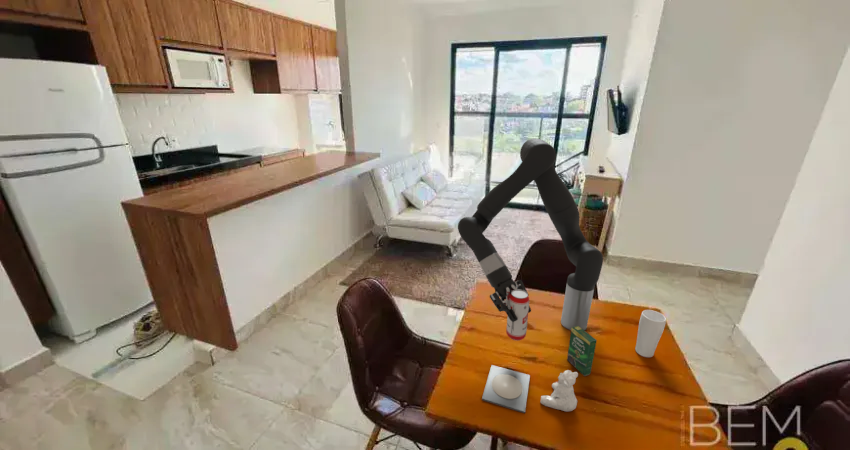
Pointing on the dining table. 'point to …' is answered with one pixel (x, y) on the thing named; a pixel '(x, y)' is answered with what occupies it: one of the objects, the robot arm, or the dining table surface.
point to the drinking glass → (649, 332)
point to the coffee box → (581, 350)
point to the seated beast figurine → (562, 393)
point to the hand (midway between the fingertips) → (522, 316)
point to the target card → (507, 388)
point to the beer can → (518, 314)
